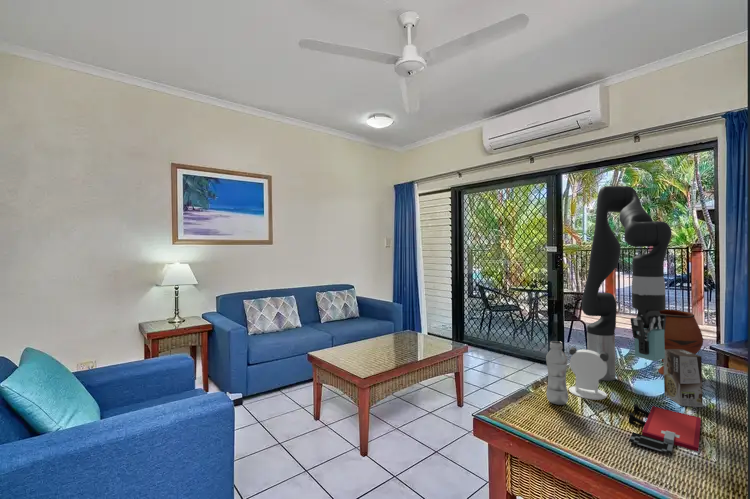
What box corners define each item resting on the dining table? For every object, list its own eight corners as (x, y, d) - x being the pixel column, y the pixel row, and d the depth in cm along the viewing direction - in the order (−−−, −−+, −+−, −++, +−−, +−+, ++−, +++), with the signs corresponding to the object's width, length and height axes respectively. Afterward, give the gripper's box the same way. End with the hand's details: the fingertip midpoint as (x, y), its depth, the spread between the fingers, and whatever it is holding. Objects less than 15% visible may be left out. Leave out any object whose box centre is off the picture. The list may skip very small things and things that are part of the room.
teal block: (634, 356, 101) (634, 328, 101) (644, 353, 103) (643, 326, 103) (655, 361, 96) (654, 331, 96) (664, 358, 98) (664, 329, 98)
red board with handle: (619, 442, 92) (697, 466, 82) (619, 431, 92) (697, 454, 82) (637, 406, 114) (700, 422, 104) (637, 397, 114) (700, 412, 104)
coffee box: (704, 407, 111) (702, 356, 111) (680, 406, 113) (679, 355, 113) (684, 396, 120) (683, 348, 120) (663, 394, 121) (662, 348, 122)
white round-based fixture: (609, 391, 125) (609, 349, 125) (608, 402, 116) (607, 357, 116) (571, 384, 132) (570, 344, 132) (566, 394, 123) (566, 351, 123)
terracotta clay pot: (650, 379, 136) (649, 314, 136) (636, 364, 154) (634, 307, 154) (714, 385, 129) (713, 317, 129) (691, 369, 146) (690, 309, 147)
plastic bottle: (567, 400, 118) (566, 340, 118) (569, 409, 112) (568, 345, 112) (546, 397, 120) (545, 339, 121) (546, 405, 114) (545, 343, 115)
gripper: (646, 289, 106) (648, 346, 106) (619, 292, 100) (620, 352, 100) (677, 291, 100) (678, 352, 99) (649, 295, 93) (650, 359, 93)
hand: (649, 352), depth 100 cm, fingers closed on teal block, 5 cm apart
